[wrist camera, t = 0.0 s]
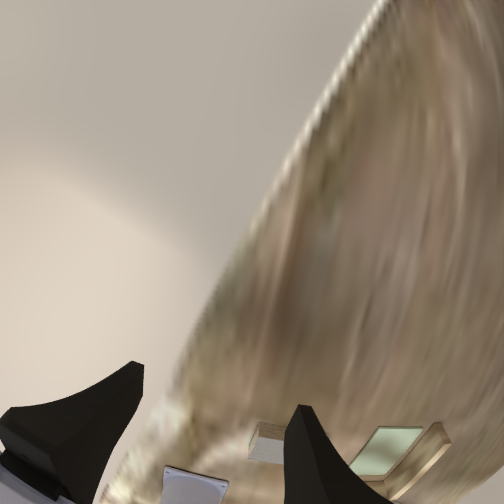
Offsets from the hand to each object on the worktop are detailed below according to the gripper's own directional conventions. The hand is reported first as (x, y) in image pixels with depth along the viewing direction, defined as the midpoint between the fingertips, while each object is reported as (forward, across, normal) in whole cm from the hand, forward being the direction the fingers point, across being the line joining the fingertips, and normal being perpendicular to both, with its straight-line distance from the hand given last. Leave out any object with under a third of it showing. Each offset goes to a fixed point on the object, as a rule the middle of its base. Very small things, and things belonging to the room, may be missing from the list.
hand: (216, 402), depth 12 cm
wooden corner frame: (+10, -18, +16) cm, 26 cm away
